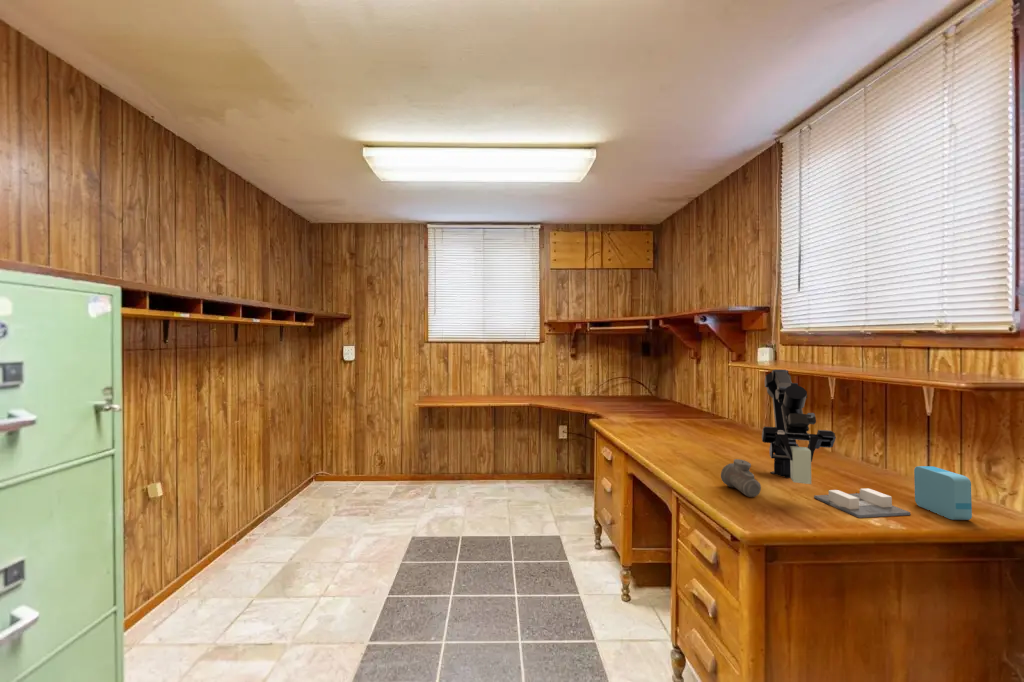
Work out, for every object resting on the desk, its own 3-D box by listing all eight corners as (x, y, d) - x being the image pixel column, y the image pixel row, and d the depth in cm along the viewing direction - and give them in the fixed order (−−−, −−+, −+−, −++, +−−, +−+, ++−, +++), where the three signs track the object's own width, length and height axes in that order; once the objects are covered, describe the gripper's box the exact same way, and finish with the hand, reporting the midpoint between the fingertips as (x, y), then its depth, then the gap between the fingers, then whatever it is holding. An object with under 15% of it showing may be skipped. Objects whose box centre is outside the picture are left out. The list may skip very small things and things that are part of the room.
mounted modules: (849, 509, 118) (849, 498, 118) (828, 500, 125) (828, 490, 125) (891, 506, 119) (891, 496, 119) (868, 498, 126) (868, 488, 126)
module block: (790, 477, 128) (790, 445, 128) (808, 479, 126) (807, 447, 126) (793, 482, 124) (792, 449, 124) (811, 484, 122) (810, 450, 122)
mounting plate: (858, 517, 114) (858, 514, 114) (814, 498, 129) (814, 495, 129) (910, 515, 115) (910, 512, 115) (860, 495, 130) (860, 493, 130)
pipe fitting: (718, 484, 141) (722, 455, 140) (740, 485, 142) (744, 457, 141) (739, 501, 129) (743, 470, 128) (763, 502, 130) (768, 471, 129)
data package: (972, 522, 110) (971, 477, 111) (954, 521, 111) (953, 477, 111) (930, 504, 122) (929, 464, 123) (914, 504, 123) (913, 464, 123)
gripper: (762, 401, 132) (767, 443, 122) (833, 404, 124) (845, 449, 114) (759, 421, 139) (764, 462, 129) (826, 425, 131) (837, 469, 121)
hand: (801, 460), depth 123 cm, fingers closed on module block, 4 cm apart
